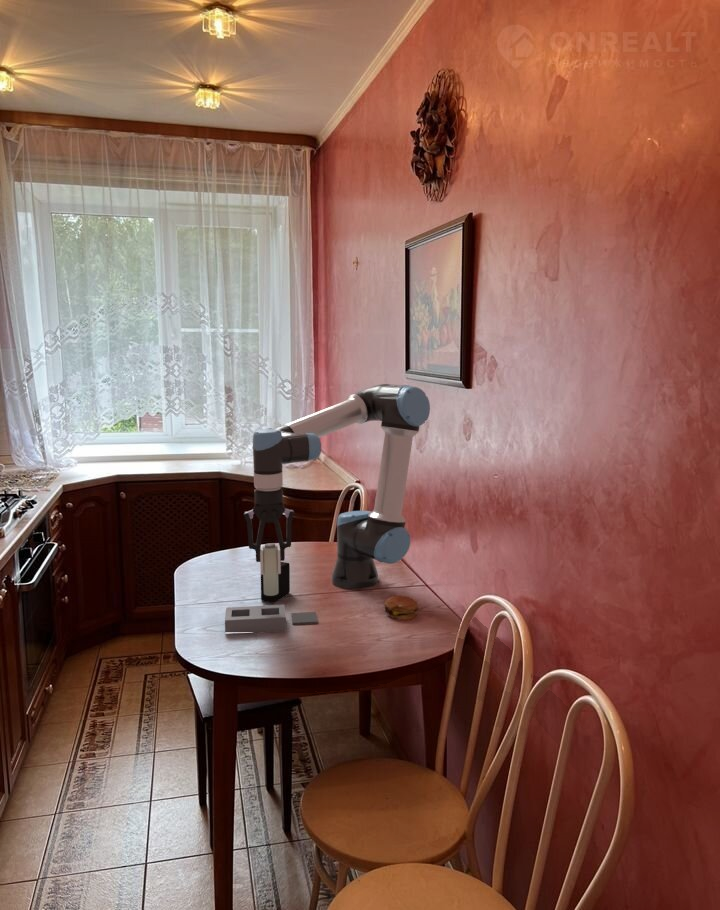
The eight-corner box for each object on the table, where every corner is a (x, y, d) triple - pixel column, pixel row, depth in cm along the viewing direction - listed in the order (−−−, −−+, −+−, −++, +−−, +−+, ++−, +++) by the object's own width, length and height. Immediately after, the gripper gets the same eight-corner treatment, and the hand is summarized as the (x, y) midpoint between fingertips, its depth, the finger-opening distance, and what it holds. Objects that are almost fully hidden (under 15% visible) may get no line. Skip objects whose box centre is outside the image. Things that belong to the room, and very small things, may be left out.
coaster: (315, 613, 194) (315, 611, 194) (318, 623, 187) (318, 621, 187) (291, 615, 193) (291, 613, 193) (292, 624, 186) (292, 622, 186)
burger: (413, 607, 200) (413, 591, 199) (422, 619, 191) (422, 603, 190) (380, 609, 198) (380, 594, 197) (388, 622, 189) (388, 606, 188)
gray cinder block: (284, 618, 191) (284, 604, 190) (285, 631, 182) (285, 617, 181) (226, 621, 188) (226, 607, 188) (225, 634, 179) (224, 620, 179)
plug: (278, 589, 187) (277, 542, 184) (278, 595, 183) (277, 546, 180) (263, 590, 186) (262, 543, 184) (263, 596, 182) (262, 547, 180)
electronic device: (290, 593, 210) (289, 562, 208) (272, 604, 201) (272, 571, 199) (278, 591, 212) (278, 560, 210) (260, 601, 203) (260, 569, 201)
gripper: (299, 484, 184) (301, 566, 188) (236, 486, 182) (239, 569, 186) (301, 489, 177) (302, 575, 181) (235, 492, 175) (238, 578, 178)
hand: (270, 572), depth 183 cm, fingers closed on plug, 4 cm apart
